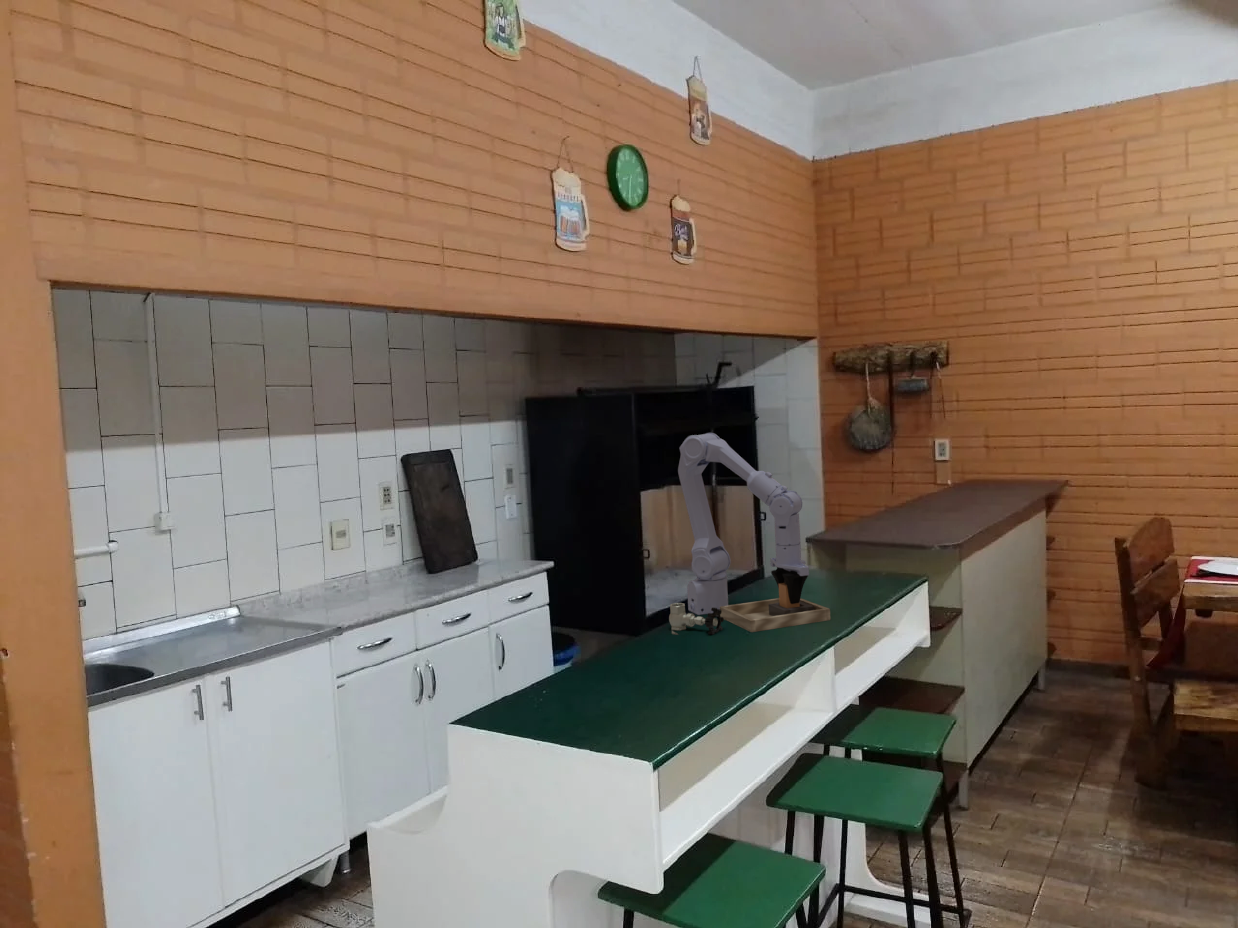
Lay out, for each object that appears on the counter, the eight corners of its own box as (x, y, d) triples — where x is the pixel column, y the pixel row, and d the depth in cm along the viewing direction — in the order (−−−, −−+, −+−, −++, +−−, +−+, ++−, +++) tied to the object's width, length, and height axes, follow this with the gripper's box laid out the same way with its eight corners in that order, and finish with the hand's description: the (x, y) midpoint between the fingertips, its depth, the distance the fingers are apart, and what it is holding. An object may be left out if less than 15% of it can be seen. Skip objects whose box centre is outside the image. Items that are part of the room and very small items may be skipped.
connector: (786, 611, 214) (785, 580, 214) (779, 608, 218) (778, 578, 217) (799, 609, 215) (798, 579, 215) (792, 606, 219) (791, 576, 218)
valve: (663, 635, 210) (710, 640, 204) (662, 607, 210) (709, 611, 203) (678, 628, 216) (724, 633, 209) (676, 600, 215) (723, 604, 208)
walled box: (751, 636, 205) (750, 620, 204) (720, 621, 220) (719, 606, 219) (830, 623, 211) (829, 608, 211) (795, 609, 226) (794, 595, 226)
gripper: (819, 545, 210) (822, 605, 211) (787, 537, 224) (790, 593, 225) (792, 549, 208) (794, 609, 209) (761, 541, 221) (764, 597, 222)
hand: (790, 601), depth 216 cm, fingers closed on connector, 3 cm apart
